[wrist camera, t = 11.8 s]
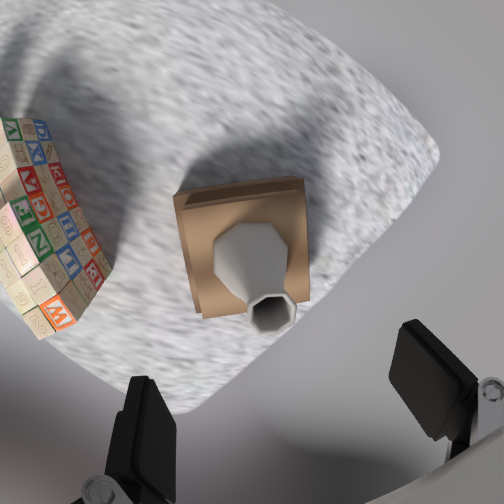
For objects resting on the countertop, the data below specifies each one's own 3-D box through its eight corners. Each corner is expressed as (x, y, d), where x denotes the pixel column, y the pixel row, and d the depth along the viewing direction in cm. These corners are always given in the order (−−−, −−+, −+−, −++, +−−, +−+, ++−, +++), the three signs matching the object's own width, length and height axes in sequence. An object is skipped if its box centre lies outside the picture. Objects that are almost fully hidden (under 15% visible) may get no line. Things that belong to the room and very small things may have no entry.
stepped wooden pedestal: (177, 191, 30) (168, 201, 24) (292, 175, 32) (314, 181, 25) (197, 296, 35) (195, 328, 28) (300, 279, 36) (318, 306, 29)
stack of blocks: (13, 147, 25) (-49, 153, 13) (46, 120, 25) (-17, 113, 13) (79, 288, 32) (38, 342, 21) (114, 270, 32) (77, 324, 21)
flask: (277, 209, 25) (316, 242, 16) (296, 279, 28) (334, 337, 19) (199, 235, 25) (193, 283, 16) (226, 302, 28) (235, 372, 18)
